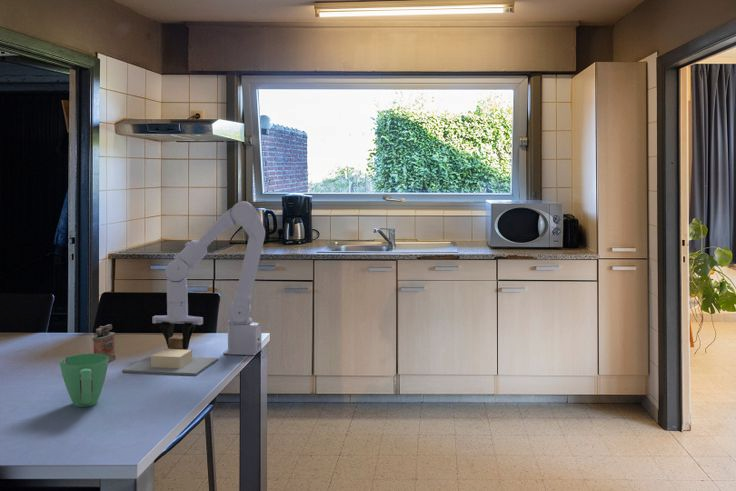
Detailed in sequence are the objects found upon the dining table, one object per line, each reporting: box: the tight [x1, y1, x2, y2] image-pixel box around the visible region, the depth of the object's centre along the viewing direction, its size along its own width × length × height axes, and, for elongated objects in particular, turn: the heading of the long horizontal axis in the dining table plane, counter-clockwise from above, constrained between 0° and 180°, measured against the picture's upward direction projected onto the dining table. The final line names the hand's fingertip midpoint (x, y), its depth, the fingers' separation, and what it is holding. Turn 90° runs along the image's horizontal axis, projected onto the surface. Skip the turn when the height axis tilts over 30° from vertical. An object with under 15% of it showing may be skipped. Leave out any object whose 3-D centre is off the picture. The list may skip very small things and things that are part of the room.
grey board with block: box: [121, 348, 219, 377], centre depth 178 cm, size 20×16×4 cm
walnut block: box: [168, 334, 189, 350], centre depth 192 cm, size 4×4×5 cm
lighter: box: [92, 324, 116, 364], centre depth 182 cm, size 8×3×10 cm, turn 168°
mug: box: [59, 353, 109, 408], centre depth 144 cm, size 15×10×10 cm
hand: (178, 348), depth 192 cm, fingers open, 4 cm apart
